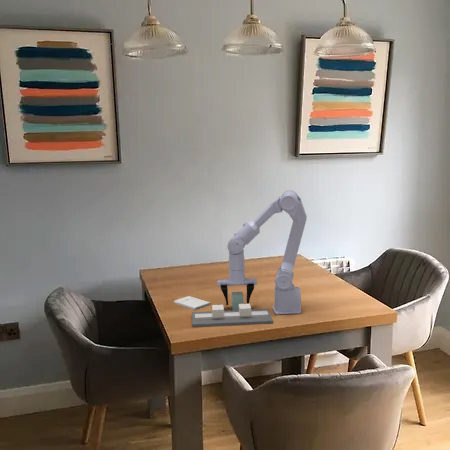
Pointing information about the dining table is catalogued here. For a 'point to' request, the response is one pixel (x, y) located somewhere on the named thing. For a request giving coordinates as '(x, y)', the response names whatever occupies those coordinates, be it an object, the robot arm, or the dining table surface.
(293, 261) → the robot arm
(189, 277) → the dining table surface
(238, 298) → the block
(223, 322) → the rail board
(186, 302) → the external hard drive
